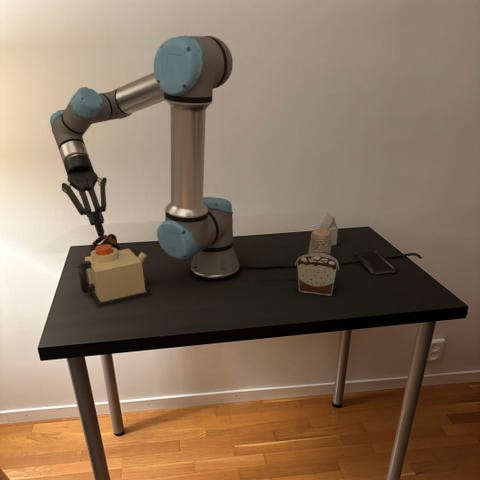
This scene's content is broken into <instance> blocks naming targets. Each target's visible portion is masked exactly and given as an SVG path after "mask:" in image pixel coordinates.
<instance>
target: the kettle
mask: <svg viewBox="0 0 480 480" xmlns="http://www.w3.org/2000/svg"><path fill="white" fill-rule="evenodd" d="M137 257H138V256H137V255H136V254H135V253H134V252H133V251H132V250H131V249H130V248H124V249H121V250H119V251H118V250H117V248H113V247H112V253H111V254H108V255H97V253H96V249H95V250H93V251H92V250H91V251H90V255H88V256H84V261H90V262H91V268H89V269H86V271H87V272H86V273H87V278H88V281H89V282H88V283H89V284H92V283H93V284H94V286H95V291H94V293H95V294H96V296H97V297H98V299H99V300H100V302H104V301H108V300H113V299H117V298H121V297H125V296H129V295H134V294H138V293H142V292H146V291H147V290H146V291H145V289H146V285H145V284H146V283H145V277H144V269H143V264H142V262H141V261H140V260H139V259H138V258H137Z"/></svg>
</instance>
